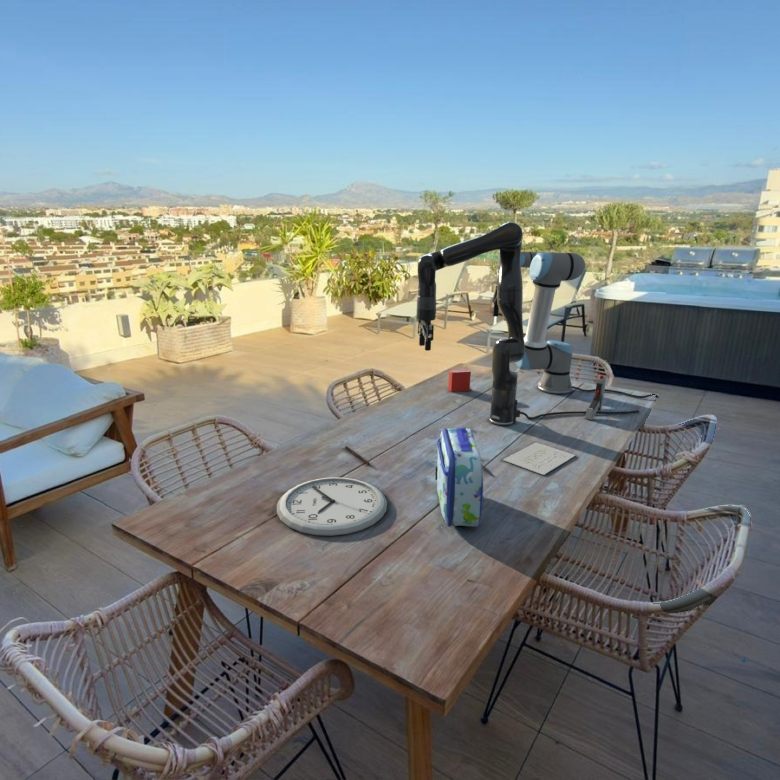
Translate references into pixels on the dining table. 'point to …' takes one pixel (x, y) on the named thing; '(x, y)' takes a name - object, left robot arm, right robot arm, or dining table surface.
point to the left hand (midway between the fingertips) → (424, 347)
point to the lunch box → (459, 478)
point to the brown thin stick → (357, 455)
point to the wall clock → (331, 506)
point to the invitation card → (539, 458)
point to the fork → (484, 469)
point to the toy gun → (597, 398)
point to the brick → (459, 380)
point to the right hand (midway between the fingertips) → (501, 318)
